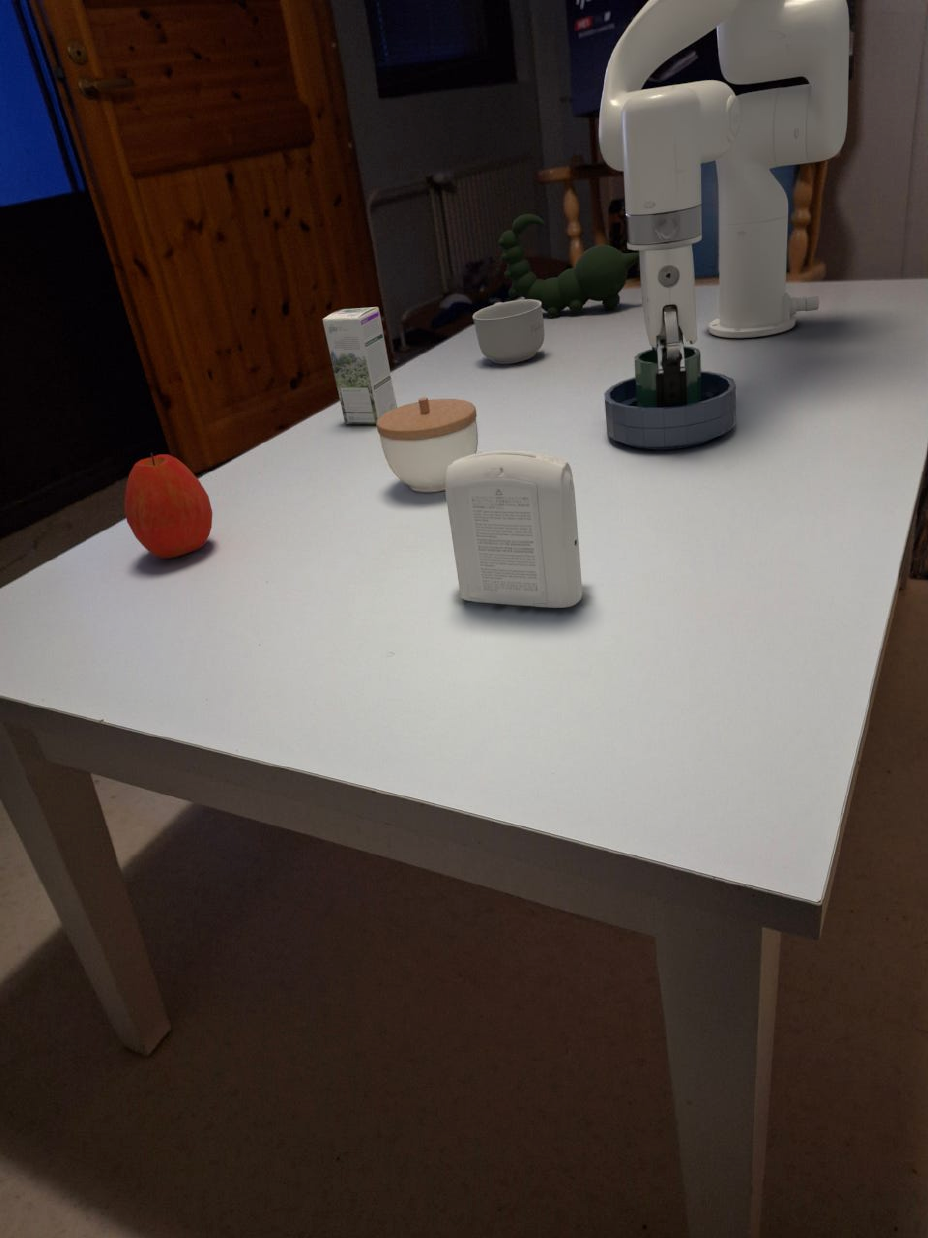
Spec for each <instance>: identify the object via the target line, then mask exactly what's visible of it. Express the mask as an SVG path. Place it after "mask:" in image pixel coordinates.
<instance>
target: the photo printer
mask: <svg viewBox="0 0 928 1238" xmlns="http://www.w3.org/2000/svg"><path fill="white" fill-rule="evenodd" d="M572 471H573V470H572V468H571V464H569V462H568V461H565V460H562V459H560V458H558V457H555V456H551V455H547V454H543V453H539V452H534V451H527V450H526V451H525V450H515V449H501V450H499V449H498V450H488V451H482V452H477V453H476V454H473V455H469V456H466V457H463V458H460V459H458V460H456V461H454V462H453V464H452V465H449V466H448V468H447V472H446V479H445V490H444V492H445V500H446V505H447V506H446V507H447V512H448V520H449V526H450V532H451V538H452V546H453V553H454V560H455V565H456V573H457V574H456V575H457V581H458V588H459V593H460V597H461V599H462V600H464V601H469V602H474V603H484V604H485V603H487V604H498V605H510V606H524V607H525V606H526V607H536V608H553V609H557V608H559V609H560V608H563V609H564V608H571V607H574V606H575V605H577V604H578V603H579V602H580V601H581V600H582V597H583V584H582V569H581V557H580V556H581V555H580V543H579V542H580V541H579V530H578V529H579V528H578V516H577V515H578V514H577V503H576V502H577V501H576V490H575V489H576V488H575V484H574V483H575V482H574V477H573V472H572Z"/></svg>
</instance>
